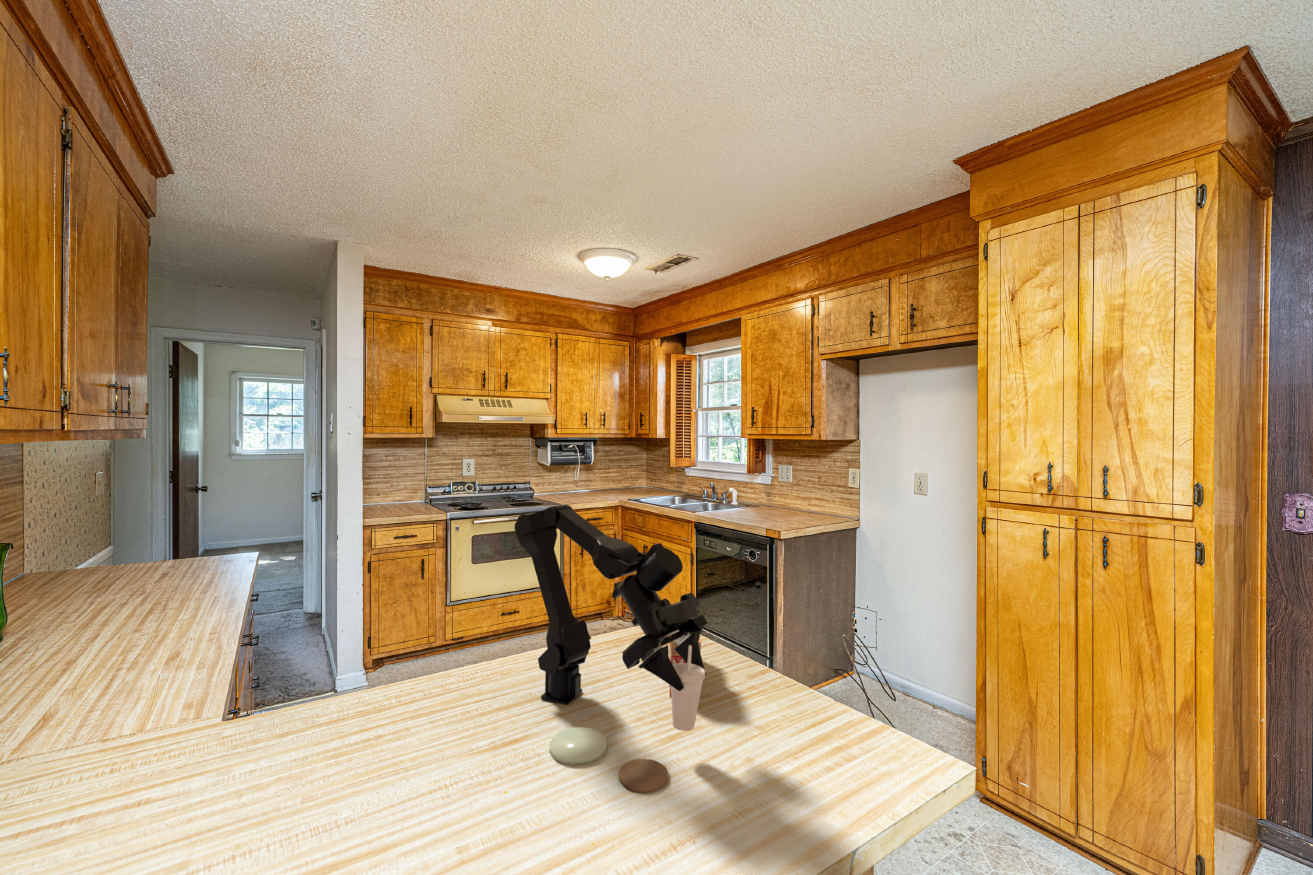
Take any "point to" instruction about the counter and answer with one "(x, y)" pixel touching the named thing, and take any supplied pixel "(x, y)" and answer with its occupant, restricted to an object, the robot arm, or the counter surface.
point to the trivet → (643, 775)
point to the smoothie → (687, 694)
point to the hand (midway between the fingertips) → (693, 682)
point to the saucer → (578, 746)
